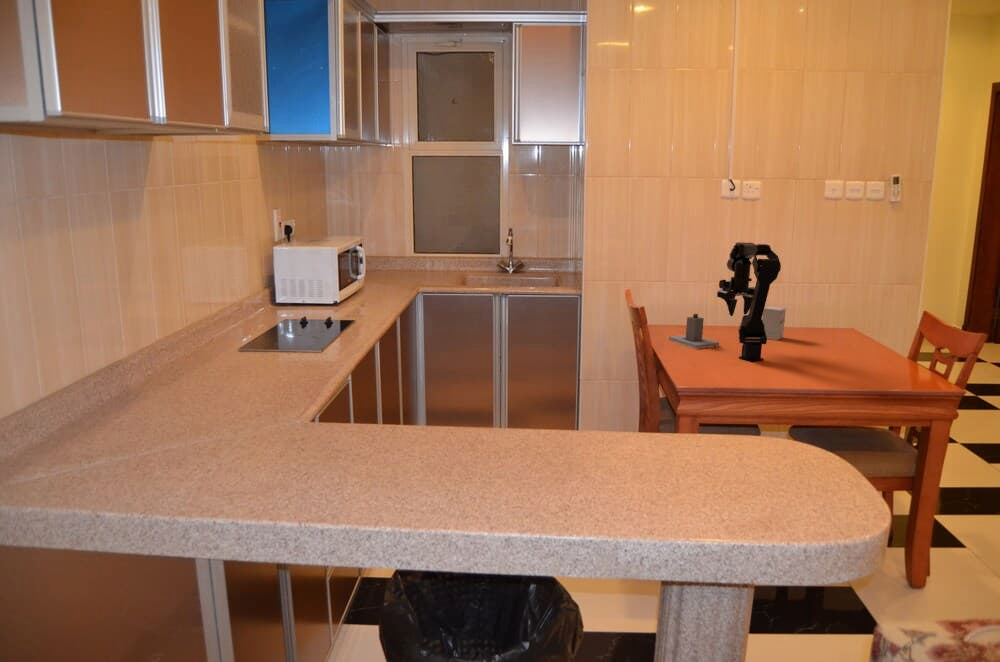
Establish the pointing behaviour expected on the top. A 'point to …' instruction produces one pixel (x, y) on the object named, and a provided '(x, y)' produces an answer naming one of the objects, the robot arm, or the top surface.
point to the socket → (695, 345)
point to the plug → (694, 328)
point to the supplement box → (774, 322)
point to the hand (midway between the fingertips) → (738, 315)
